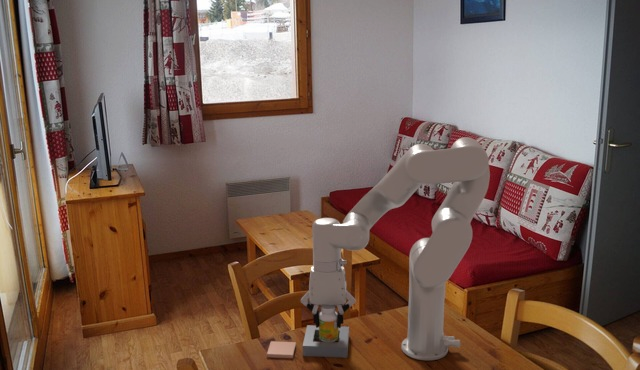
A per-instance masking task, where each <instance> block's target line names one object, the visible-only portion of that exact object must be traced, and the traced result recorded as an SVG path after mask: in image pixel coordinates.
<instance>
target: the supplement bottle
mask: <svg viewBox="0 0 640 370" xmlns="http://www.w3.org/2000/svg"><path fill="white" fill-rule="evenodd" d="M336 310H337V309H336V305H320V311H319V338H320V339H319V341H320V342H336V341H338V340H337V339H338V337H339V333H338V311H336Z"/></svg>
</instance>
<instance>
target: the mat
mask: <svg viewBox="0 0 640 370" xmlns="http://www.w3.org/2000/svg"><path fill="white" fill-rule="evenodd" d="M296 346H297V342H296V341H273V340H271V341H270V343H269V346H268V349H267V352H266V358H274V359H275V358H277V359H294V355H295V352H296V351H295V350H296Z"/></svg>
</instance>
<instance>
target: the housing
mask: <svg viewBox="0 0 640 370" xmlns="http://www.w3.org/2000/svg"><path fill="white" fill-rule="evenodd" d="M338 333H339V337H338V339H337V340H336V341H338V342H336V341H335V342H323V341H316V340H320V338H319V327H318V328H316V325H315V324H314V325H313V324H312V325H311V324H310V325H308V324H307V325H306V328H305V334H304V339H303V342H302V357H323V358H345V359H347V358H348V352H349V339H350V326H342V325H341V328H338Z"/></svg>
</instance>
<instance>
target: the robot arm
mask: <svg viewBox="0 0 640 370" xmlns="http://www.w3.org/2000/svg"><path fill="white" fill-rule="evenodd" d="M489 163H490V162H489V155H488V154H487V151H486V150H485V149H484V148H483V146H482V145H481V144H480V143H479V141H477V140H476V139H474V138H473V137H468V136H465V137H460V138H458V139H457V140H455V142H454V143H453V144H452V146H451V147H450V148H443V149H442V148H441V149H434V148H432V147H431V146H429V145H427V144H424V143H417V144H414V145H413V146H411V147H410V148H409V149H408V150H407V151H406V152H404V154H403V155H402V157H400V159H398V160H397V162H396V163H395V164H394V165H393V166H392V167H391V169H390V170H389V171H388V172H387V173H385V175H384V176H383V177H382V178H381V180H379V182H378V183H377V184H375V186H373V187H372V188H371V189H370V190H369V191H368V192H367V193H365V194H364V195H363V196H362V198H361V199H360V200H359V201H358V202H357V203H356V204H355V205H354V206H353V208H351V210H350V211H349V212H348V213H347V214H346V216H345V217H344V219H343V220H342V223H340V221H339V220H338V219H336V218H332V217H322V218H318V219H315V220H314V221H313V222H312V225H311V228H312V229H311V230H312V231H311V233H312V237H311V238H312V261H313V262H312V266H311V267H310V272H309V273H310V274H309V284H308V291H307V292H306V293H305V294H304V295H302V297H301V298H300V303H301V304H303V306H305V307H306V309H308V310H309V311H310V312H311V314H313V324H315V326H316V328H318V327H319V314H320V310H319V309H318V308H319V306H321V305H335V306H336V307H337V310H338V311H337V314H338V328H341V326H342V325H343V324H344V314H345V312H347V311H348V310H349V309H350V308H351V307H352V306H353V305H355V304H356V302H357V301H356V298H355V297H354V296H353V295H352V294H351V293H350V292H349V291H348V290H347V276H346V270H345V267H344V266H347V259H343V258H342V250H345V251H354V252H355V251H360V250H361V251H362V250H363V249H364V248H366V247H367V245H368V244H369V241H370V230H371V229H372V227H373V226H374V225H375V224H376V223H377V222H378V221H379V220H380V218H382V217H383V216H384V215H385V214H386V213H387V212H388V211H390V210H392V209H397V208H399V207H402V206H403V205H405V203H406V202H407V201H408V200H409V199H410V198H411V197H412V195H413V194H414V193H416V191H418V189H419V188H420V187H421V186H422V185H440V184H441V185H442V184H449V183H452V185H451V187H450V189H449V191H448V192H447V194H446V196H445V198H444V199H443V201H442V203H441V205H440V206H439V208H438V209H437V210H436V212H435V214H434V215H433V217H432V219H431V230H432V234H431V236H429V237H423V238H420V239H418V240H417V241H415V243H414V244H412V247H411V248H410V251H409V256H408V257H409V259H408V260H409V266H408V268H409V269H408V270H409V275H408V276H409V277H408V279H409V284H408V286H409V288H408V308H407V309H408V311H407V312H408V313H407V337H406V338H404V339H403V340H402V342H401V351H402V352H403V353H404V354H405V355H406V356H408V357H409V358H411V359H415V360H419V361H435V360H441V359H442V358H444V357H446V356H447V354H448V352H449V347H453V348H460V347H461V341H460V339H455V336H452V335H451V336H450V335H448V336H447V335H446V334H445V333H444V315H445V314H444V313H445V299H446V282H448V281H449V279H450V278H451V277H452V275H453V273H454V272H455V270H456V269H457V267H458V266H459V264H460V262H461V261H462V260H463V258H464V256H465V255H466V253H467V251H468V249H469V248H470V245H471V243H472V240H473V228H472V225H471V222H472V220H473V218H474V217H475V214H476V213H477V211H478V209H479V208H480V206H481V204H482V202H483V200H484V198H485V197H486V195H487V192H488V189H489V186H490V185H489V184H490V179H491V178H490V177H491V172H490V164H489ZM347 300H348V301H347Z"/></svg>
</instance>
